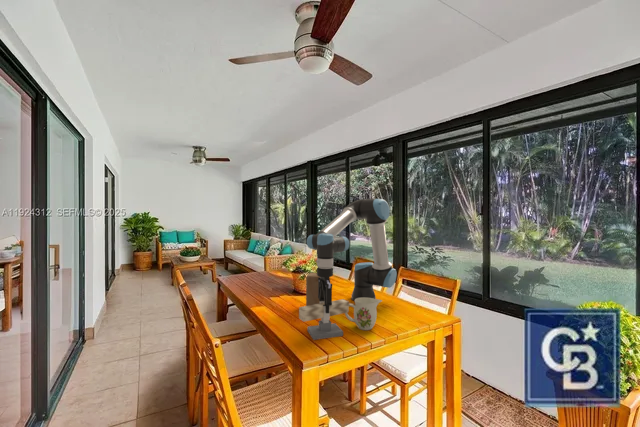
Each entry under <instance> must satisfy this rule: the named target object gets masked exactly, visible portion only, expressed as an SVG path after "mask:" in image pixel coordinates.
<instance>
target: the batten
mask: <svg viewBox="0 0 640 427" xmlns="http://www.w3.org/2000/svg"><path fill="white" fill-rule="evenodd" d="M349 304H350V302H349V300H346V299H344V298H343V299H338V300H332V305H331V306H330V317H333V316H336V315H342V314H345V313H349V310H350V309H349V307H350V306H349ZM323 305H324V303H320V304H314V305H309V306H306V305H304V306H299V307H298V319H299V320H300V321H302V322H303V323H304V322H310V321H313V320H317V319H318V320H319V319H321V318H324V306H323Z"/></svg>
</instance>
